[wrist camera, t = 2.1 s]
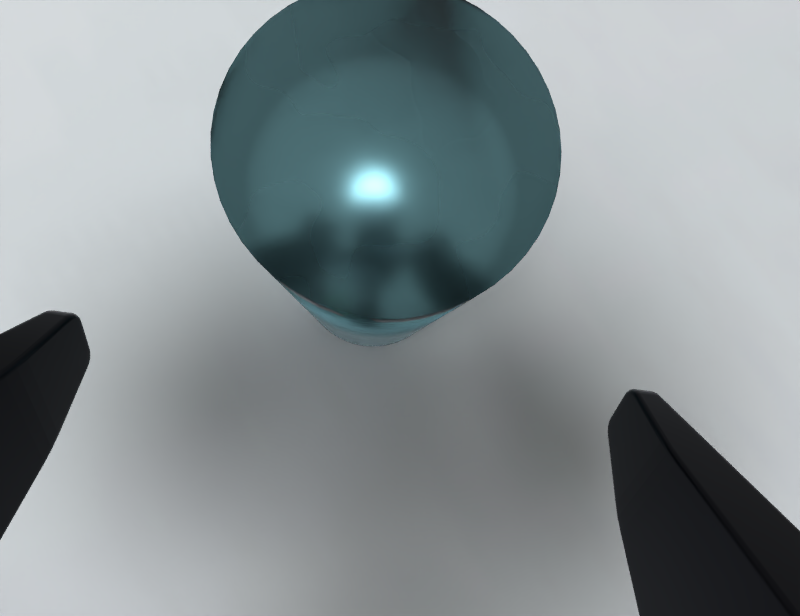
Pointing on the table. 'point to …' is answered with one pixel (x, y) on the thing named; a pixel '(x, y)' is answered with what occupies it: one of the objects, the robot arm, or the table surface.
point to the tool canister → (385, 158)
